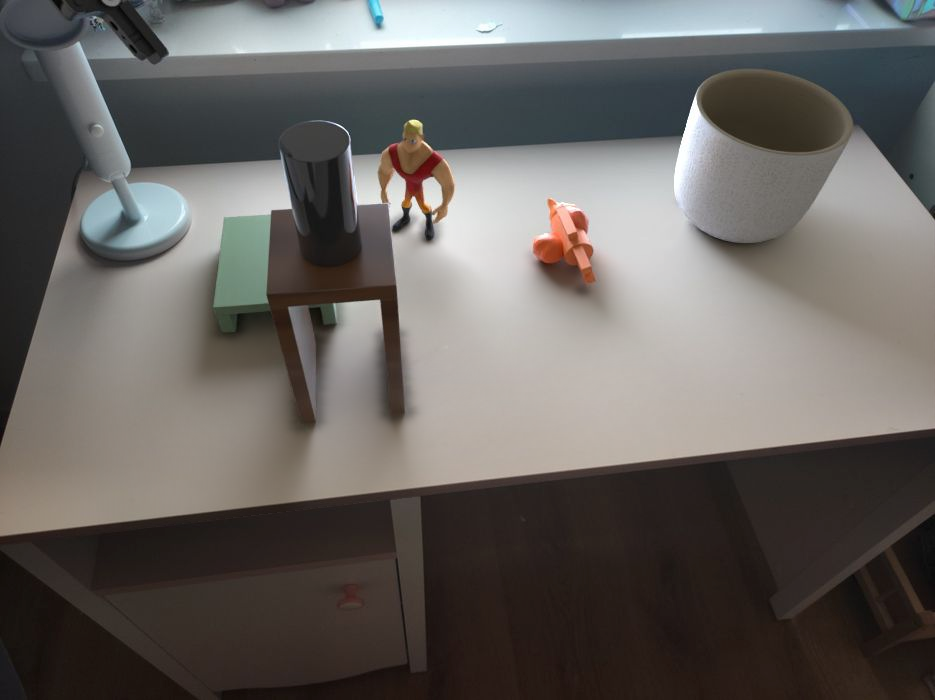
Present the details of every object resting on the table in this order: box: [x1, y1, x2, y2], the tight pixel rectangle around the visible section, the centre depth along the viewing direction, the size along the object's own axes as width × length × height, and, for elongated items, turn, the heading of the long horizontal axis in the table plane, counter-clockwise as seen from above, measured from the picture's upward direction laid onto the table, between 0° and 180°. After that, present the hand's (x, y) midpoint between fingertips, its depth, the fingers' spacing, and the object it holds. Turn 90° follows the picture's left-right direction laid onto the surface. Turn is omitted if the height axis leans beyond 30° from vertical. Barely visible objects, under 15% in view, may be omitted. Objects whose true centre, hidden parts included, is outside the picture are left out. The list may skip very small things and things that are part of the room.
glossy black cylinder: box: [278, 120, 362, 267], centre depth 54 cm, size 5×5×10 cm
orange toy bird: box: [532, 197, 597, 285], centre depth 82 cm, size 5×8×12 cm
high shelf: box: [266, 202, 406, 424], centre depth 64 cm, size 10×10×18 cm
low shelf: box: [212, 213, 338, 334], centre depth 78 cm, size 14×12×4 cm
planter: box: [673, 68, 854, 244], centre depth 83 cm, size 17×17×15 cm
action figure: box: [377, 119, 456, 240], centre depth 80 cm, size 10×4×15 cm, turn 70°
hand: (208, 24), depth 48 cm, fingers open, 8 cm apart
